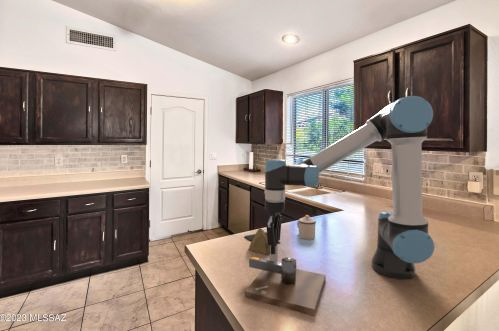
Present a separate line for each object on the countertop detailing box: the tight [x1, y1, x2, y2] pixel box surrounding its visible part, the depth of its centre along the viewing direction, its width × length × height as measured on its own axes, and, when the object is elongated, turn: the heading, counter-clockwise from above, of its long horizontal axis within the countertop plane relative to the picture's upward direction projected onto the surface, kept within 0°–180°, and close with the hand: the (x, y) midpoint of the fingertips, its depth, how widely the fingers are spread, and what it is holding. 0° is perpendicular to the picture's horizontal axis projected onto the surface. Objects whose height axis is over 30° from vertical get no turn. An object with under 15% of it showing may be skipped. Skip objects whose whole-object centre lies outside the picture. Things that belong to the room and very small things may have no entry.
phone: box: [243, 231, 267, 242], centre depth 139 cm, size 7×1×15 cm
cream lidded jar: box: [296, 214, 316, 240], centre depth 141 cm, size 12×9×12 cm
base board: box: [244, 268, 326, 317], centre depth 89 cm, size 22×22×2 cm
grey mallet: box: [248, 256, 297, 284], centre depth 92 cm, size 17×5×8 cm, turn 66°
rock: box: [248, 228, 270, 255], centre depth 119 cm, size 11×9×10 cm
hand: (273, 261), depth 100 cm, fingers closed
